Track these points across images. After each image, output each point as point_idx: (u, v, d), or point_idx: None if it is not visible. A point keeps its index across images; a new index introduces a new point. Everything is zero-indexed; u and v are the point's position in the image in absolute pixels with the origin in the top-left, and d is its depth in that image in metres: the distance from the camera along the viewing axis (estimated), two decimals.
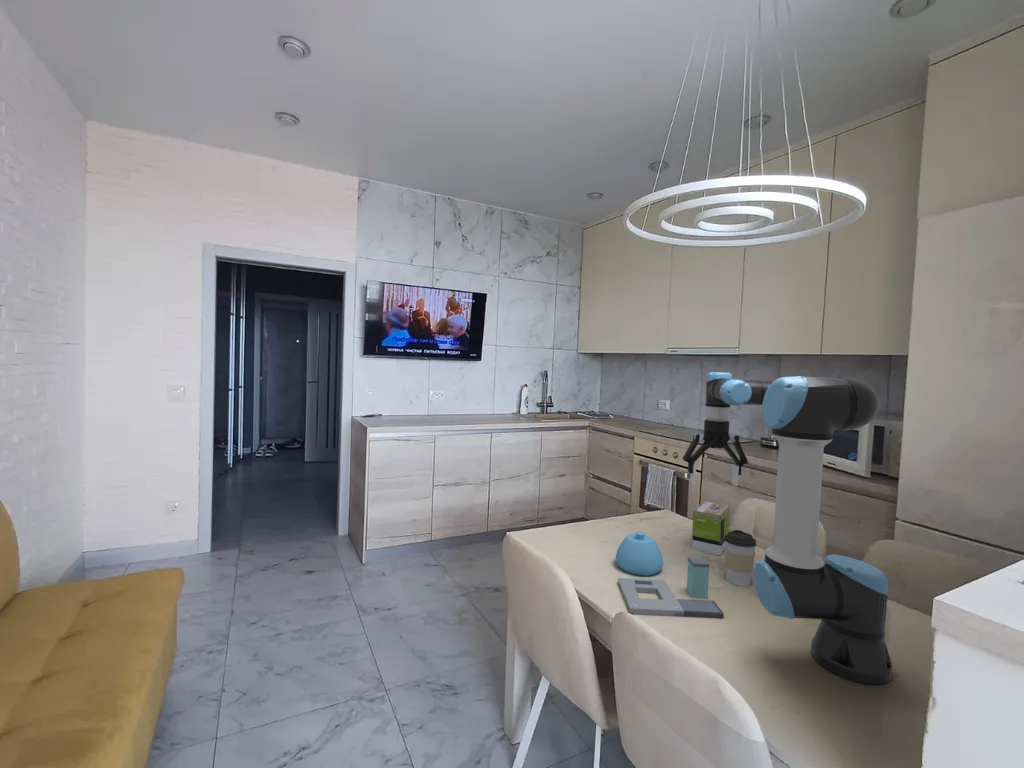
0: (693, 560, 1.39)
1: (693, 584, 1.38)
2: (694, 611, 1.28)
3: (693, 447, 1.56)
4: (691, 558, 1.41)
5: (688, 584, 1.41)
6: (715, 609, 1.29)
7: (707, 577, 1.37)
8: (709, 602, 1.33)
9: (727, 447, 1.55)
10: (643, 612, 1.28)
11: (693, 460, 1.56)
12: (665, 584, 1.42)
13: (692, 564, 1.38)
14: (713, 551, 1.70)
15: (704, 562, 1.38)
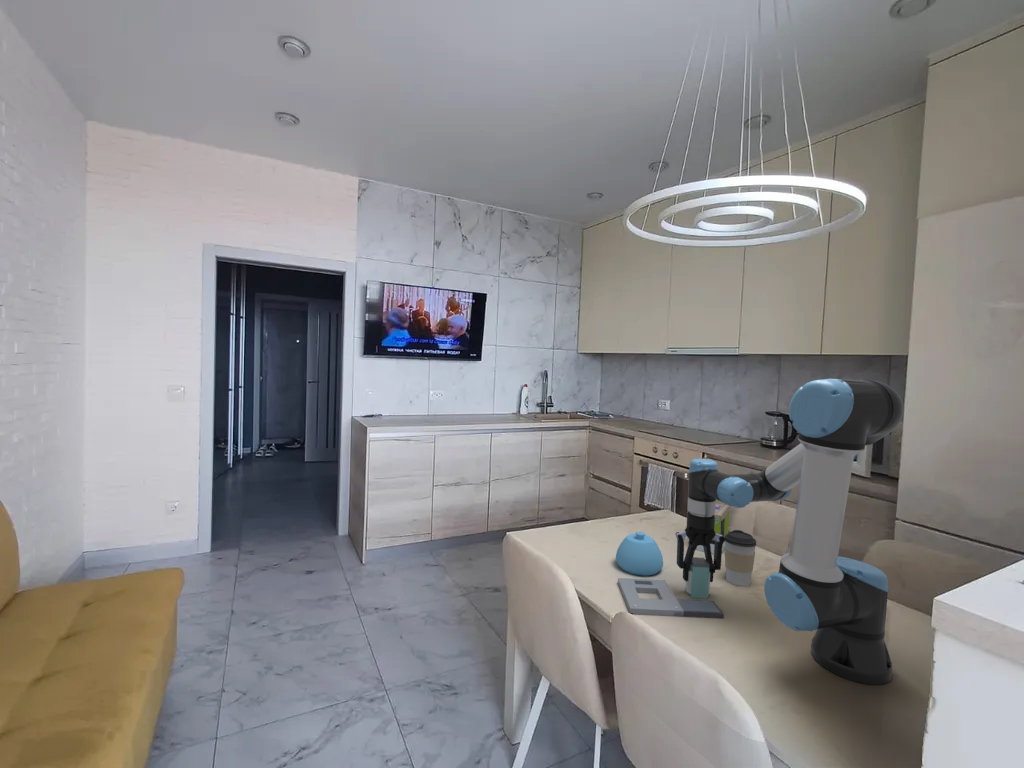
0: (693, 560, 1.39)
1: (693, 584, 1.38)
2: (694, 611, 1.28)
3: (681, 550, 1.38)
4: None
5: None
6: (715, 609, 1.29)
7: (707, 577, 1.37)
8: (709, 602, 1.33)
9: (708, 547, 1.38)
10: (643, 612, 1.28)
11: (687, 566, 1.39)
12: (665, 584, 1.42)
13: (692, 564, 1.38)
14: (713, 551, 1.70)
15: (704, 562, 1.38)
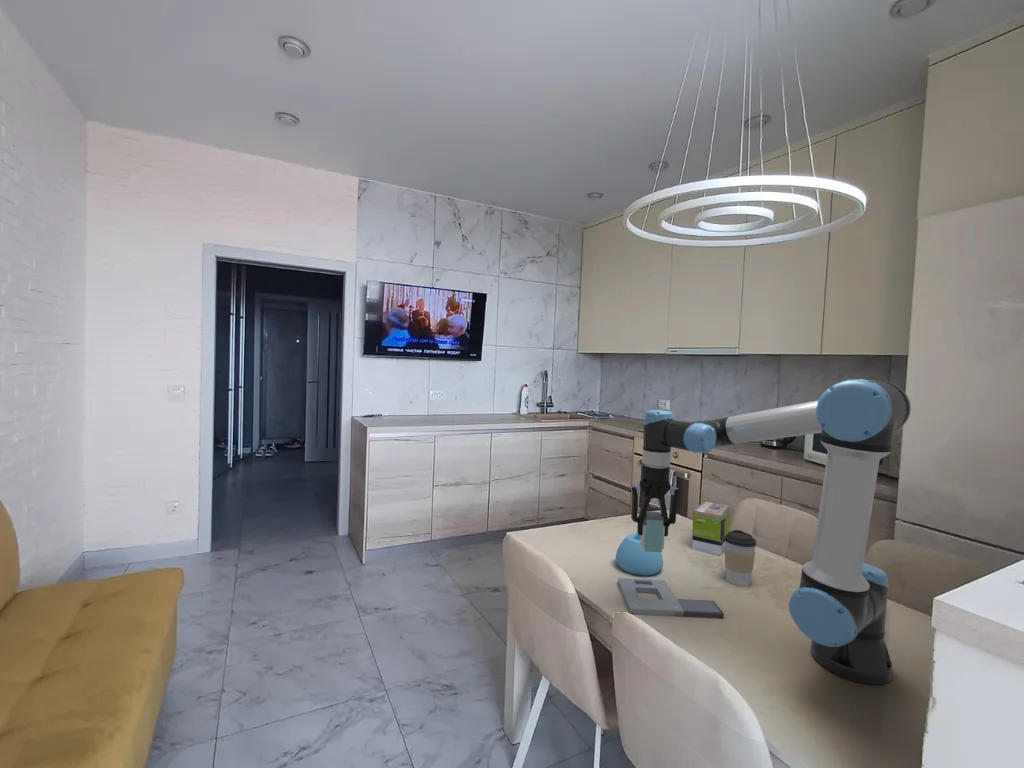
0: (648, 514, 1.36)
1: (647, 538, 1.34)
2: (694, 611, 1.28)
3: (635, 503, 1.35)
4: None
5: None
6: (715, 609, 1.29)
7: (661, 530, 1.34)
8: (709, 602, 1.33)
9: (662, 499, 1.34)
10: (643, 612, 1.28)
11: (641, 520, 1.35)
12: (665, 584, 1.42)
13: (646, 517, 1.34)
14: (713, 551, 1.70)
15: (658, 515, 1.35)
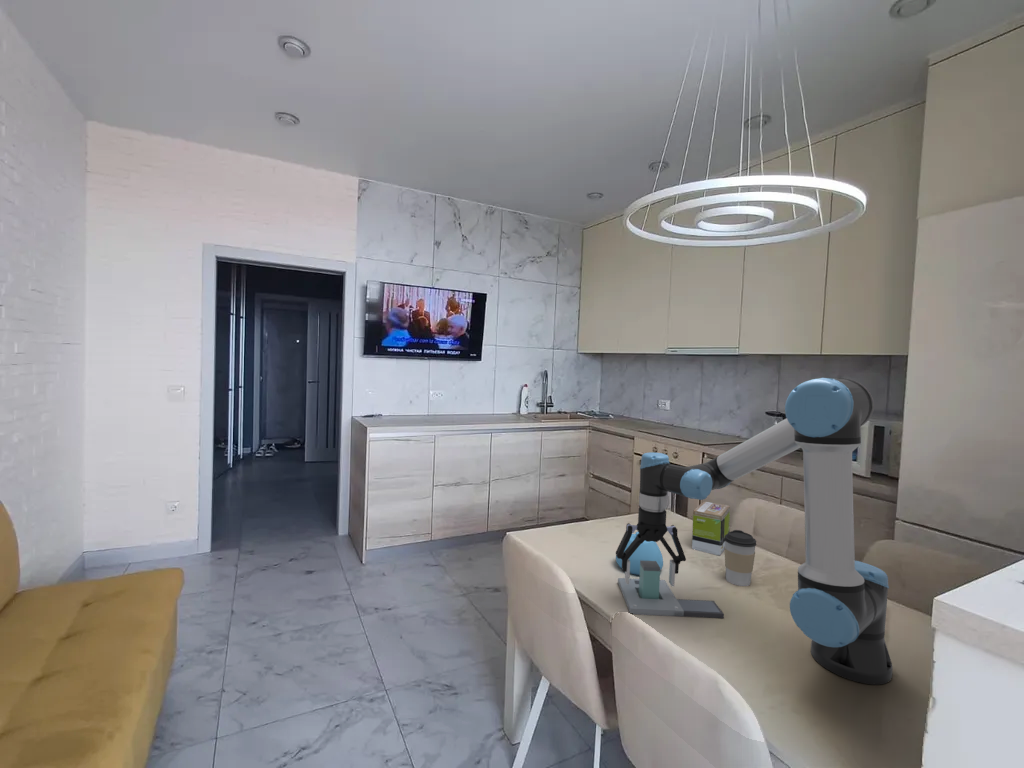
0: (644, 563, 1.36)
1: (644, 589, 1.34)
2: (694, 611, 1.28)
3: (626, 541, 1.35)
4: (643, 561, 1.37)
5: (639, 588, 1.38)
6: (715, 609, 1.29)
7: (658, 581, 1.34)
8: (709, 602, 1.33)
9: (663, 541, 1.34)
10: (643, 612, 1.28)
11: (626, 556, 1.35)
12: (665, 584, 1.42)
13: (643, 568, 1.35)
14: (713, 551, 1.70)
15: (655, 566, 1.35)
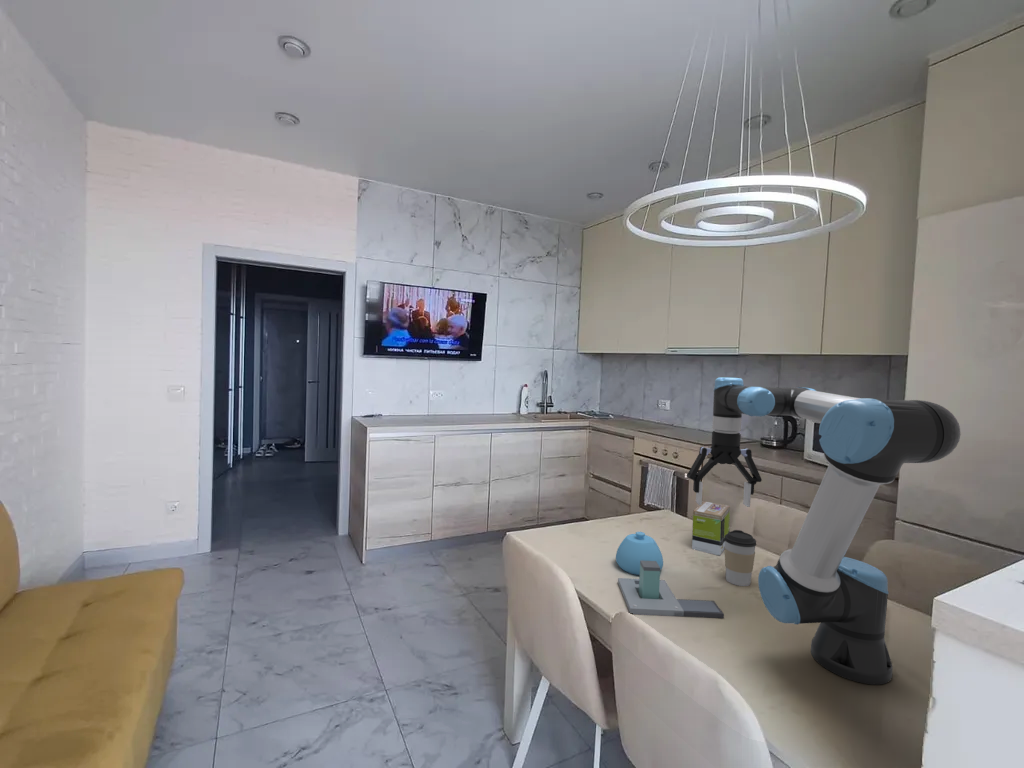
0: (644, 563, 1.36)
1: (644, 589, 1.34)
2: (694, 611, 1.28)
3: (699, 463, 1.37)
4: (643, 561, 1.37)
5: (639, 588, 1.38)
6: (715, 609, 1.29)
7: (658, 581, 1.34)
8: (709, 602, 1.33)
9: (738, 463, 1.36)
10: (643, 612, 1.28)
11: (699, 477, 1.37)
12: (665, 584, 1.42)
13: (643, 568, 1.35)
14: (713, 551, 1.70)
15: (655, 566, 1.35)
